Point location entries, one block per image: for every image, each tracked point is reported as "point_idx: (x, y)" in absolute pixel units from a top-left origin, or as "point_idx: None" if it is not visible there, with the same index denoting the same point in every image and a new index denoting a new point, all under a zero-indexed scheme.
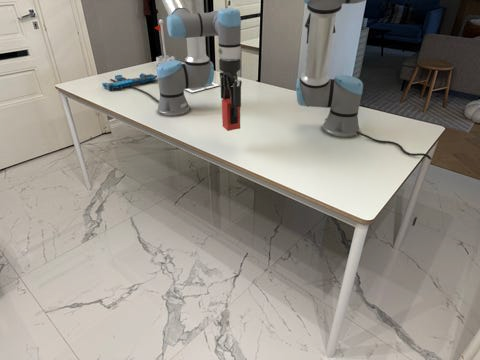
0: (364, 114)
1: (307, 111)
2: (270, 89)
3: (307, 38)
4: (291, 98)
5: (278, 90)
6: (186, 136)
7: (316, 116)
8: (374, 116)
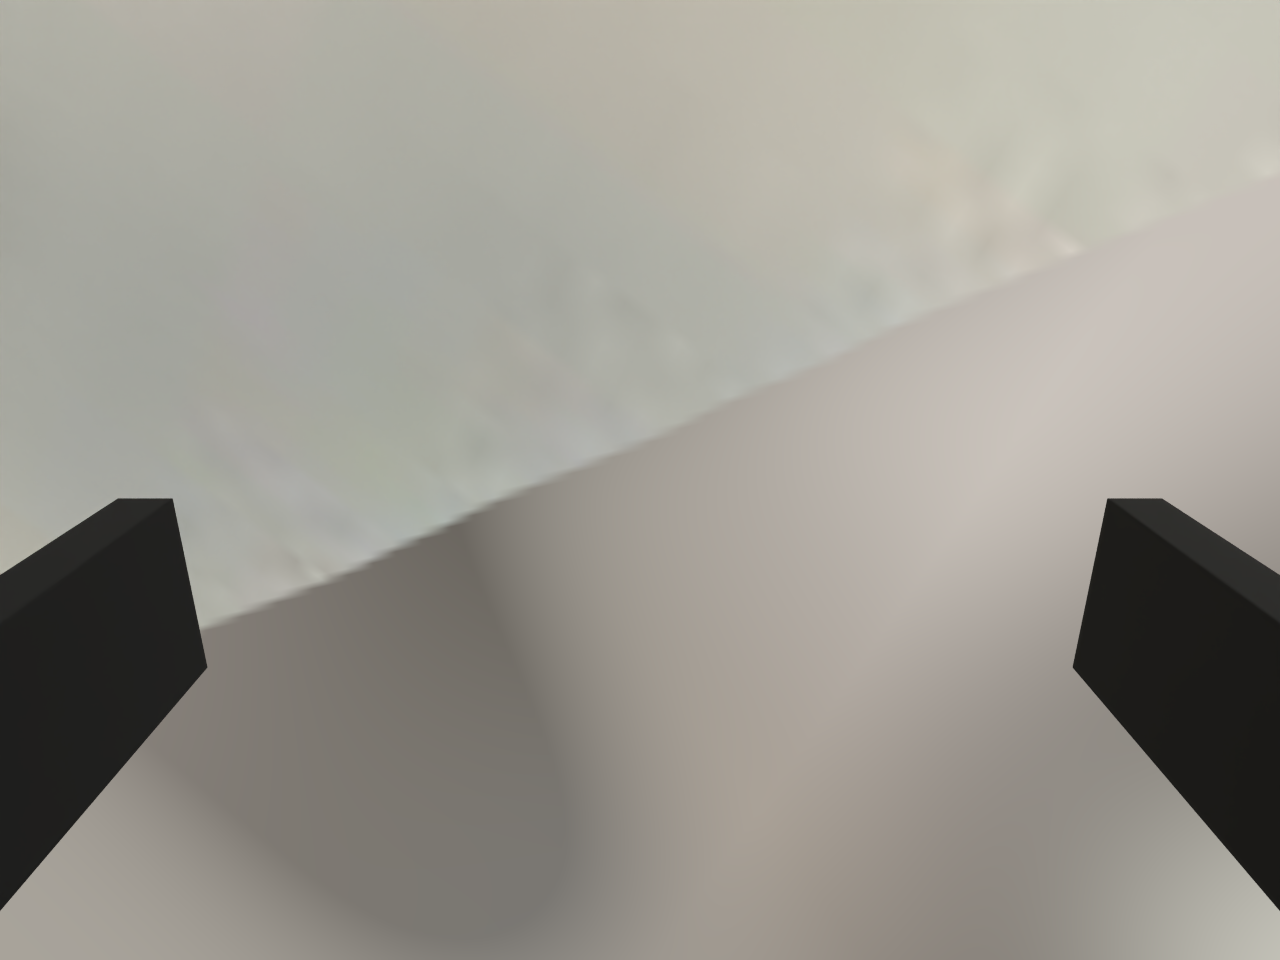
0: (73, 524)
1: (340, 12)
2: (1269, 48)
3: (1247, 576)
4: (815, 108)
5: (1163, 132)
6: None
7: (161, 12)
8: (3, 569)
